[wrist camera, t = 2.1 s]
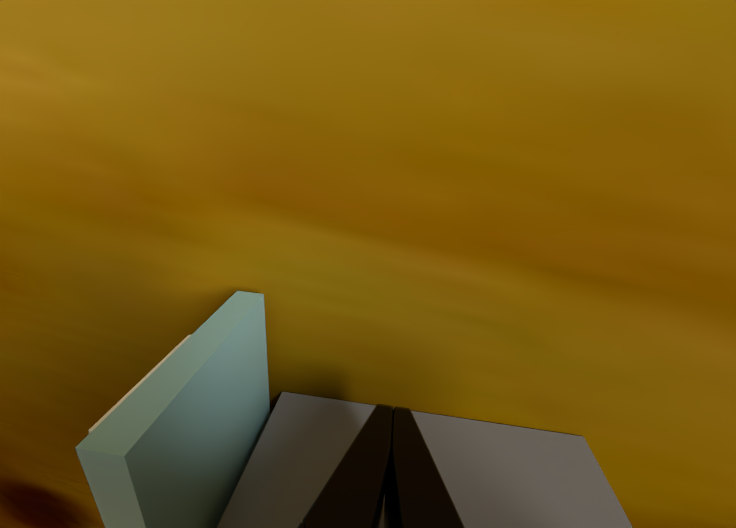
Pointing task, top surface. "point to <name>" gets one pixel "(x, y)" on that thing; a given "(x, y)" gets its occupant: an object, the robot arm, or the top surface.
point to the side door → (185, 426)
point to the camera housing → (452, 457)
